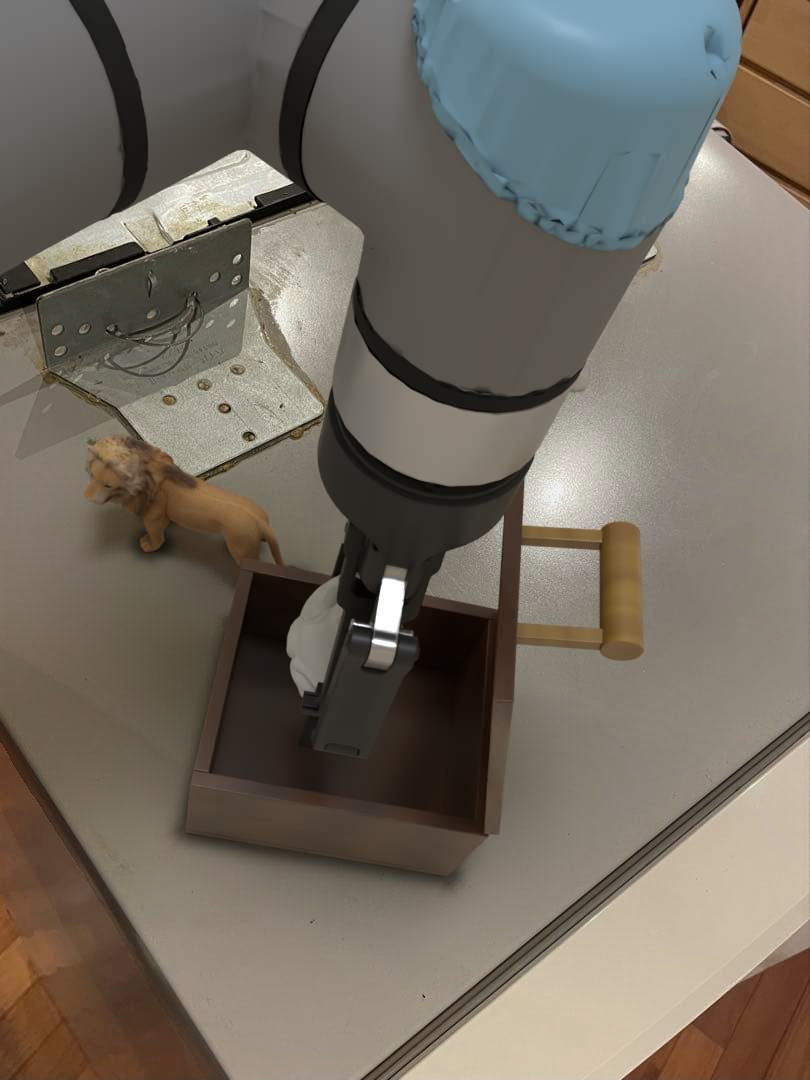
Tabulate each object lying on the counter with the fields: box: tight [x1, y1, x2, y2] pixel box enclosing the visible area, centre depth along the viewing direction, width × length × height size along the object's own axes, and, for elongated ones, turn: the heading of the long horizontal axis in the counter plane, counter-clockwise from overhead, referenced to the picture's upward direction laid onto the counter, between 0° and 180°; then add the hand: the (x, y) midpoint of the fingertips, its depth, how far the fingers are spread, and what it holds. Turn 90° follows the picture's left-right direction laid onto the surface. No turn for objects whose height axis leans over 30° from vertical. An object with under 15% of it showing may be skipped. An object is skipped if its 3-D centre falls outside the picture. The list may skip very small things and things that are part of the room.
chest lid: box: [484, 477, 645, 836], centre depth 48 cm, size 16×14×6 cm
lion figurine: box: [82, 433, 305, 570], centre depth 63 cm, size 15×5×9 cm, turn 79°
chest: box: [184, 558, 498, 877], centre depth 58 cm, size 16×14×9 cm
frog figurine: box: [286, 572, 403, 697], centre depth 50 cm, size 6×7×7 cm
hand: (336, 675), depth 53 cm, fingers closed on frog figurine, 7 cm apart
